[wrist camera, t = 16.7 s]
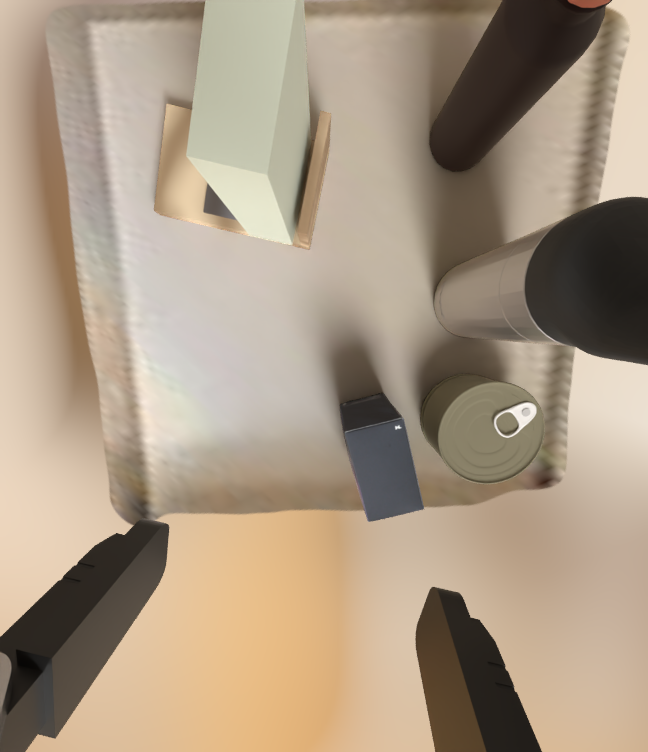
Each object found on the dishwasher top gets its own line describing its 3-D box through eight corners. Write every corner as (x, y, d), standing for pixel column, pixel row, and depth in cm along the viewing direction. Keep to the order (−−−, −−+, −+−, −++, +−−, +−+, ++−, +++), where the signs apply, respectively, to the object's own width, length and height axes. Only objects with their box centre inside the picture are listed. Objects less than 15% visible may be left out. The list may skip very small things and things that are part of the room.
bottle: (431, 177, 36) (565, -2, 16) (425, 112, 35) (562, -164, 15) (488, 168, 36) (694, -24, 16) (485, 103, 35) (700, -188, 15)
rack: (329, 151, 35) (330, 113, 29) (309, 249, 37) (307, 234, 31) (173, 112, 35) (139, 64, 28) (160, 215, 36) (126, 191, 30)
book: (311, 142, 34) (301, -36, 17) (292, 245, 36) (267, 174, 19) (266, 131, 34) (212, -60, 17) (249, 235, 35) (186, 156, 19)
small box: (335, 403, 40) (341, 431, 30) (383, 391, 40) (405, 414, 30) (355, 476, 42) (366, 525, 32) (401, 464, 42) (427, 510, 32)
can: (401, 406, 41) (417, 422, 34) (479, 353, 40) (512, 359, 33) (448, 474, 42) (472, 503, 36) (524, 426, 41) (564, 446, 34)
